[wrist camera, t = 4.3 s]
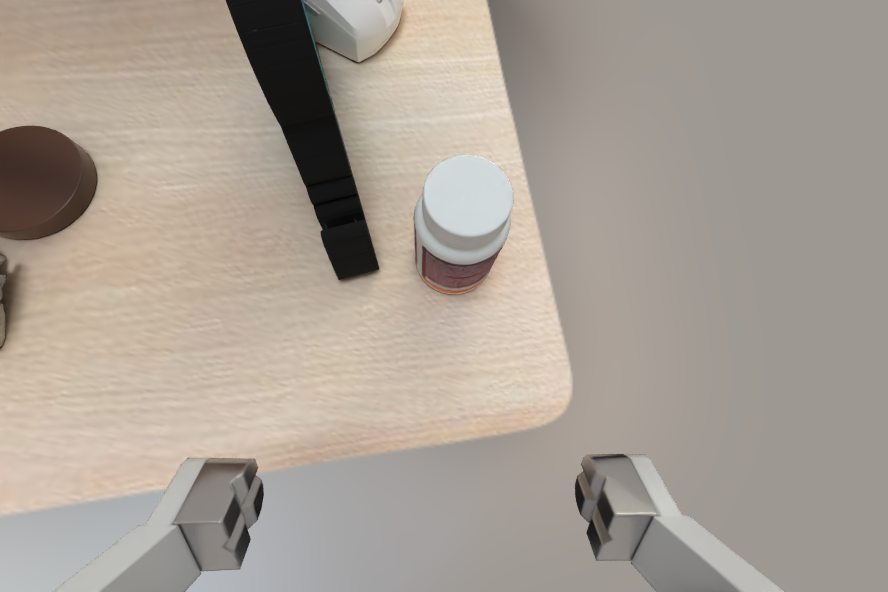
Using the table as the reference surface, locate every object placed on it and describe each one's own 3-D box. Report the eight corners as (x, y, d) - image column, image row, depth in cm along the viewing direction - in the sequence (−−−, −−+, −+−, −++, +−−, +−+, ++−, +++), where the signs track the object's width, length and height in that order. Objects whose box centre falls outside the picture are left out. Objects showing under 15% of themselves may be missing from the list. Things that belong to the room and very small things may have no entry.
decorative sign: (276, 33, 29) (134, -330, 15) (310, 27, 30) (205, -335, 15) (340, 282, 25) (231, 119, 11) (380, 271, 25) (327, 98, 11)
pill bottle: (504, 274, 26) (543, 215, 18) (437, 308, 25) (447, 264, 17) (467, 212, 27) (488, 130, 19) (401, 244, 26) (394, 172, 18)
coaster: (74, 247, 25) (57, 239, 24) (-47, 231, 25) (-69, 222, 23) (112, 145, 27) (98, 134, 25) (0, 130, 26) (-19, 117, 25)
